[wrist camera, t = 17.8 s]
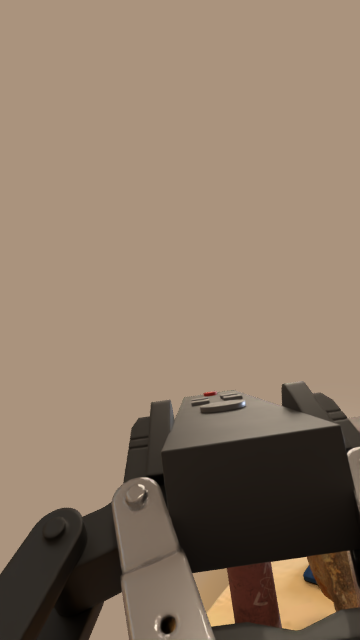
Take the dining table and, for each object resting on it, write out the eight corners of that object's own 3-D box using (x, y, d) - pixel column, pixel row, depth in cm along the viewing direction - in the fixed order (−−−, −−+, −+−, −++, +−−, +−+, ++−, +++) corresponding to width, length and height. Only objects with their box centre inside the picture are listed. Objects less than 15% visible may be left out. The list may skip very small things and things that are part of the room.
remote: (188, 429, 27) (183, 394, 27) (239, 422, 27) (233, 387, 27) (176, 576, 7) (158, 440, 8) (369, 549, 7) (339, 413, 8)
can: (278, 629, 48) (260, 524, 50) (291, 668, 41) (270, 545, 44) (236, 634, 48) (220, 529, 50) (243, 674, 41) (225, 552, 44)
